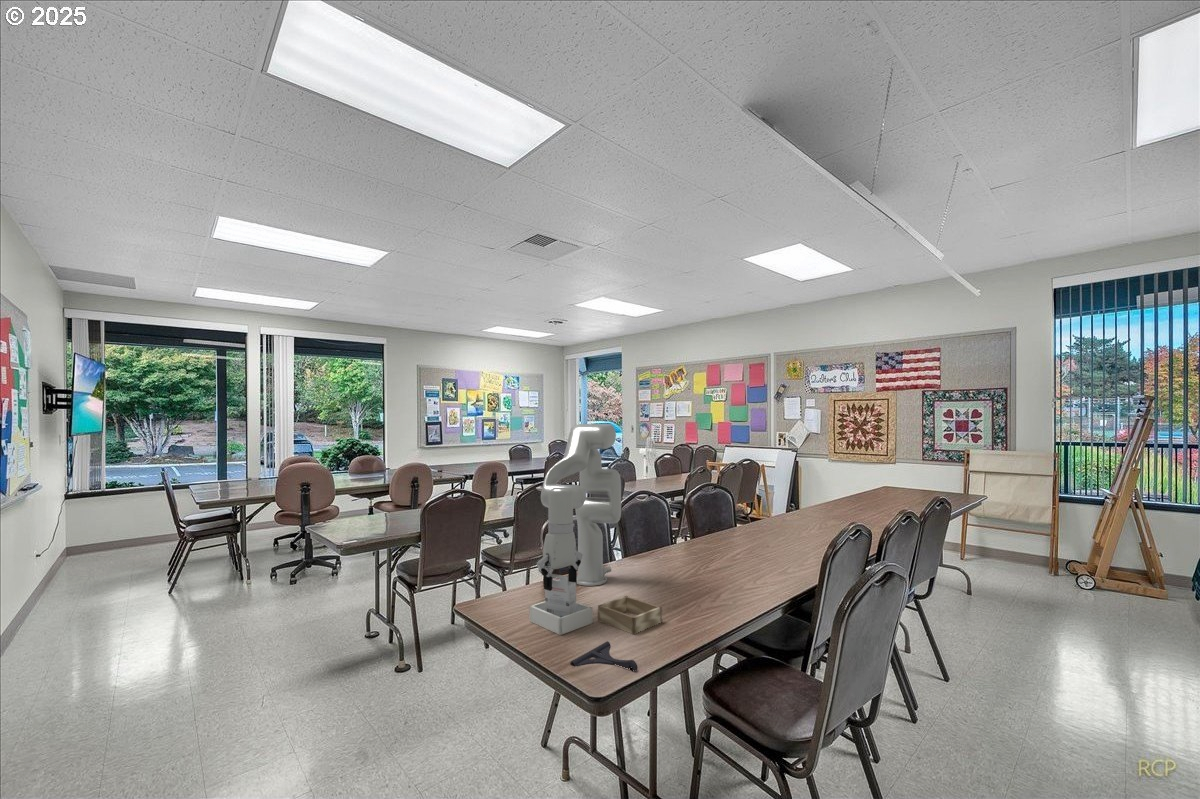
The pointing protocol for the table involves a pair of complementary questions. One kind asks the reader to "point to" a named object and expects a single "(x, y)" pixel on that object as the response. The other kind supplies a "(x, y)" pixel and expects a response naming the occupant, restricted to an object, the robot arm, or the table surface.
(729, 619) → the table surface
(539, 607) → the frame
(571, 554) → the robot arm
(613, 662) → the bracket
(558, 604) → the ink box
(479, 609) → the table surface
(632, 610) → the frame
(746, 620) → the table surface
